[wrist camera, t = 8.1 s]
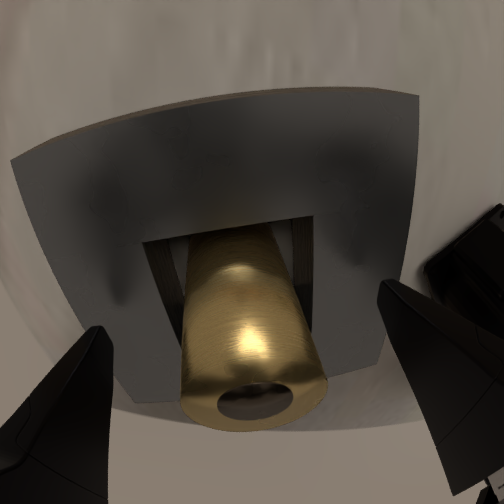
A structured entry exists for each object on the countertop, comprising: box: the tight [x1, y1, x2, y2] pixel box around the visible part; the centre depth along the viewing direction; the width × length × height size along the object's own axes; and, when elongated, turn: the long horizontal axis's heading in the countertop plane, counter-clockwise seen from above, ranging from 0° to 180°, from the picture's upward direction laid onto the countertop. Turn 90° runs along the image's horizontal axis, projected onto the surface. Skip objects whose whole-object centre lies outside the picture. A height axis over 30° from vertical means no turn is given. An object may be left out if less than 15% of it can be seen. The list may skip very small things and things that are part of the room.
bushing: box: [180, 222, 328, 432], centre depth 9 cm, size 4×4×7 cm
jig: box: [10, 87, 419, 403], centre depth 11 cm, size 12×12×3 cm
